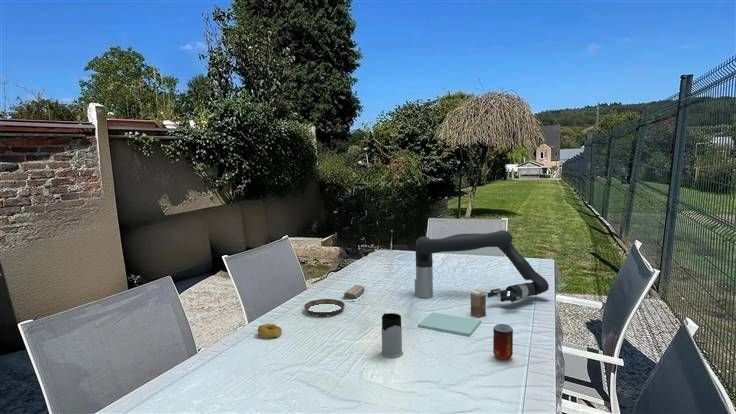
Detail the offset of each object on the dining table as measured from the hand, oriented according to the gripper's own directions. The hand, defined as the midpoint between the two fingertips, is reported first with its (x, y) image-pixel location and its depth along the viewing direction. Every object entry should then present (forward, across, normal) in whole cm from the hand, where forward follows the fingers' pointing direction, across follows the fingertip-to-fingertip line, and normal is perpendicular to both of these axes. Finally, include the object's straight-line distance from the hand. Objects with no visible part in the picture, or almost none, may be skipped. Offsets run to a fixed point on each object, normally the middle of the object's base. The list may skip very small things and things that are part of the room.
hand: (494, 297), depth 216 cm
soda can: (+36, +39, +7) cm, 53 cm away
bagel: (+104, -32, +8) cm, 109 cm away
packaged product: (+47, -60, +8) cm, 76 cm away
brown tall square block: (+11, 0, +7) cm, 13 cm away
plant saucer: (+71, -48, +8) cm, 85 cm away
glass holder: (+68, +10, +7) cm, 70 cm away
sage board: (+30, +2, +7) cm, 31 cm away
